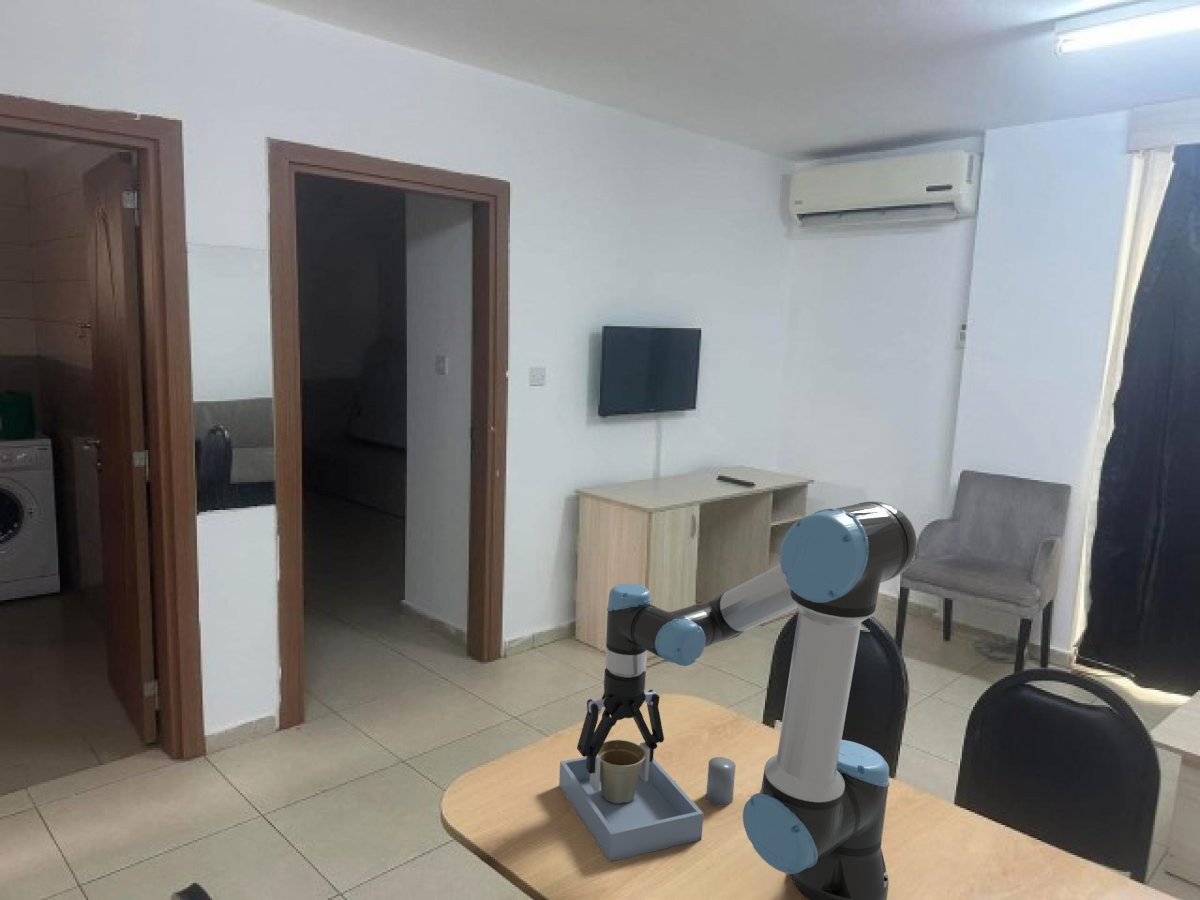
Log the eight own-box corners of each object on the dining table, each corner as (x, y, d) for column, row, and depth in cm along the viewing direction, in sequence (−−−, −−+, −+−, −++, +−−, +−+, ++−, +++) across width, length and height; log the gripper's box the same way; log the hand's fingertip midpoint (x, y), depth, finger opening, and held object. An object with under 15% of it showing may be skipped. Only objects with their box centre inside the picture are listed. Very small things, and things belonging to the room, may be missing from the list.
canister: (737, 802, 155) (740, 768, 154) (714, 808, 153) (717, 773, 152) (723, 788, 160) (726, 755, 159) (701, 793, 158) (703, 759, 157)
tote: (701, 839, 144) (703, 813, 143) (609, 861, 137) (611, 834, 136) (641, 769, 165) (642, 746, 164) (559, 785, 158) (560, 761, 157)
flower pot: (643, 811, 150) (646, 767, 148) (592, 808, 150) (594, 764, 148) (642, 782, 159) (645, 740, 158) (593, 779, 159) (595, 737, 158)
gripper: (668, 653, 158) (661, 761, 162) (561, 668, 149) (556, 782, 153) (688, 669, 151) (680, 782, 155) (576, 685, 142) (571, 804, 146)
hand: (619, 782), depth 154 cm, fingers closed on flower pot, 9 cm apart
